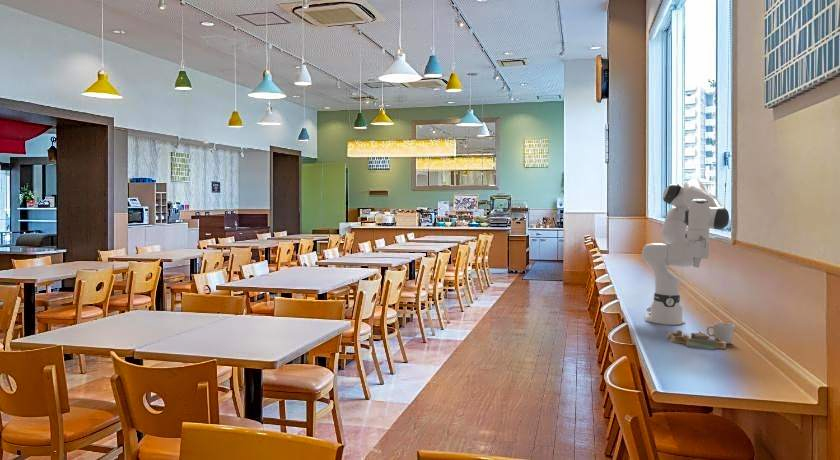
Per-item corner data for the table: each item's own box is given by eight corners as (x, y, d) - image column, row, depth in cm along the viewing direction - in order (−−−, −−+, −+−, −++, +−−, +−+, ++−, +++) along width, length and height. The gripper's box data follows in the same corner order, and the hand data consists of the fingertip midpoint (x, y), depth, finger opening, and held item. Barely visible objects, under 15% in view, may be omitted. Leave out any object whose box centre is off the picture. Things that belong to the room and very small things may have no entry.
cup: (705, 342, 275) (706, 323, 275) (706, 339, 282) (707, 320, 282) (733, 345, 270) (734, 327, 270) (734, 342, 277) (735, 323, 277)
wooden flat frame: (666, 337, 282) (666, 329, 282) (712, 339, 280) (712, 332, 280) (677, 346, 265) (678, 338, 264) (727, 349, 262) (727, 341, 262)
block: (690, 344, 270) (691, 332, 270) (702, 345, 270) (703, 333, 269) (694, 347, 265) (695, 335, 265) (707, 348, 265) (708, 336, 264)
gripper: (713, 237, 272) (711, 270, 273) (698, 234, 292) (696, 265, 293) (698, 237, 273) (696, 269, 273) (683, 234, 293) (682, 264, 294)
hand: (696, 267), depth 283 cm, fingers closed
